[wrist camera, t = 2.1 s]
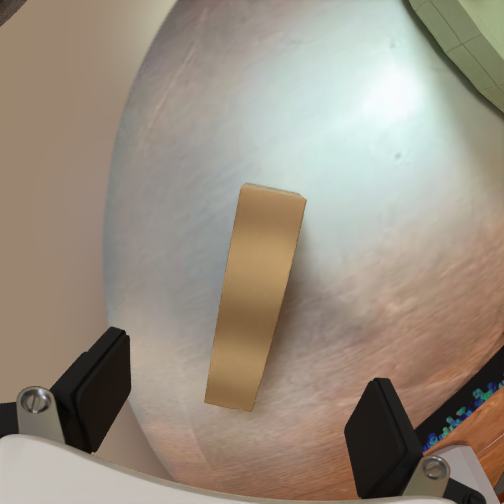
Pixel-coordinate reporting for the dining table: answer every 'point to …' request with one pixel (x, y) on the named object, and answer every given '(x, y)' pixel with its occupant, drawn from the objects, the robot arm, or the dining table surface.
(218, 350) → the stick
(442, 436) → the knife
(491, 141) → the dining table surface
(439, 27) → the shallow round dish
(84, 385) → the robot arm
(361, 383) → the dining table surface
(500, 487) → the model building
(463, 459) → the jar
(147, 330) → the dining table surface
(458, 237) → the dining table surface
